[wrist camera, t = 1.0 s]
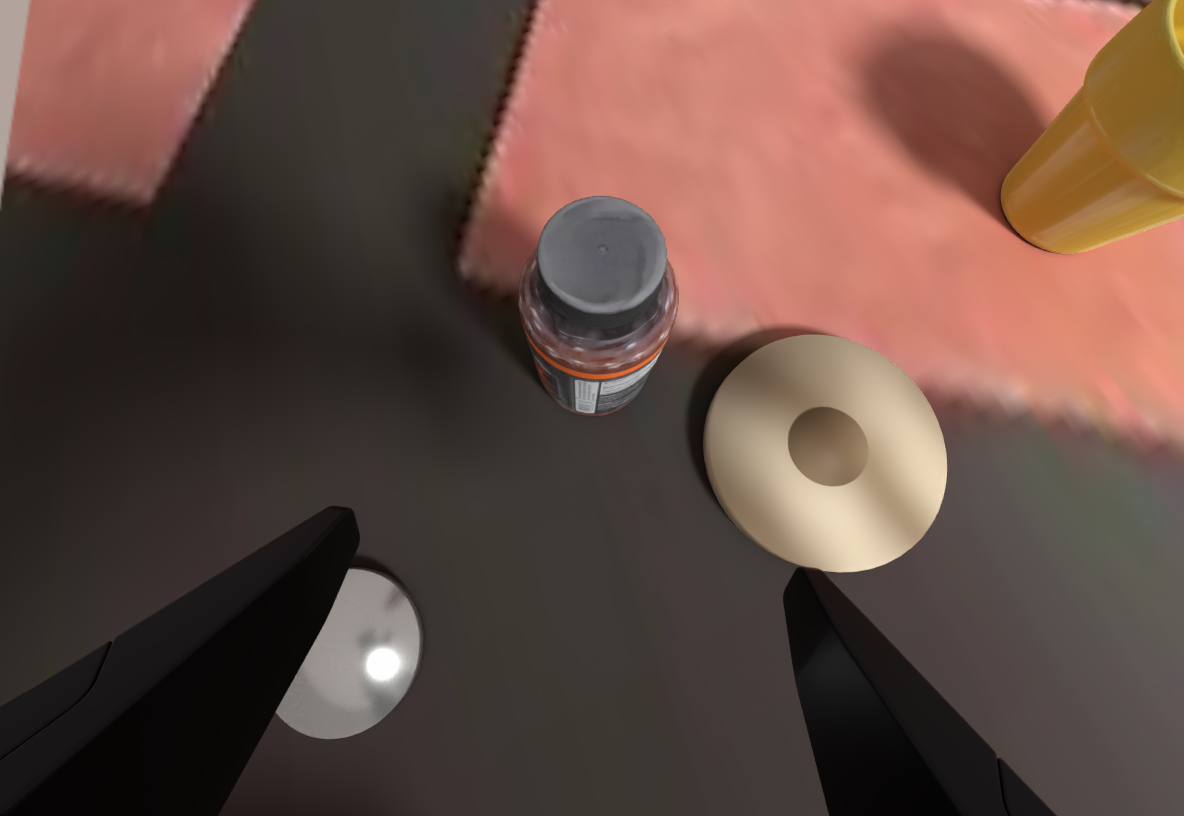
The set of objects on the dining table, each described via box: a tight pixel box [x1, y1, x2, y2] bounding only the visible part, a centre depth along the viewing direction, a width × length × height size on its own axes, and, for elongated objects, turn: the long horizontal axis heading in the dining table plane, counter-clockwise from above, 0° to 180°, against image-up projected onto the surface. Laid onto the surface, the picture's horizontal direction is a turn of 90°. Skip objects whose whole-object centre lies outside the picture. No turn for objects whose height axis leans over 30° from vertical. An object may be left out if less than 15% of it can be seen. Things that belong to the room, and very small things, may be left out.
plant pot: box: [1001, 0, 1184, 254], centre depth 23 cm, size 10×10×10 cm
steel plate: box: [276, 567, 425, 739], centre depth 21 cm, size 7×7×1 cm
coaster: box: [703, 334, 947, 572], centre depth 23 cm, size 12×12×1 cm
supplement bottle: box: [518, 196, 679, 416], centre depth 19 cm, size 6×6×11 cm
